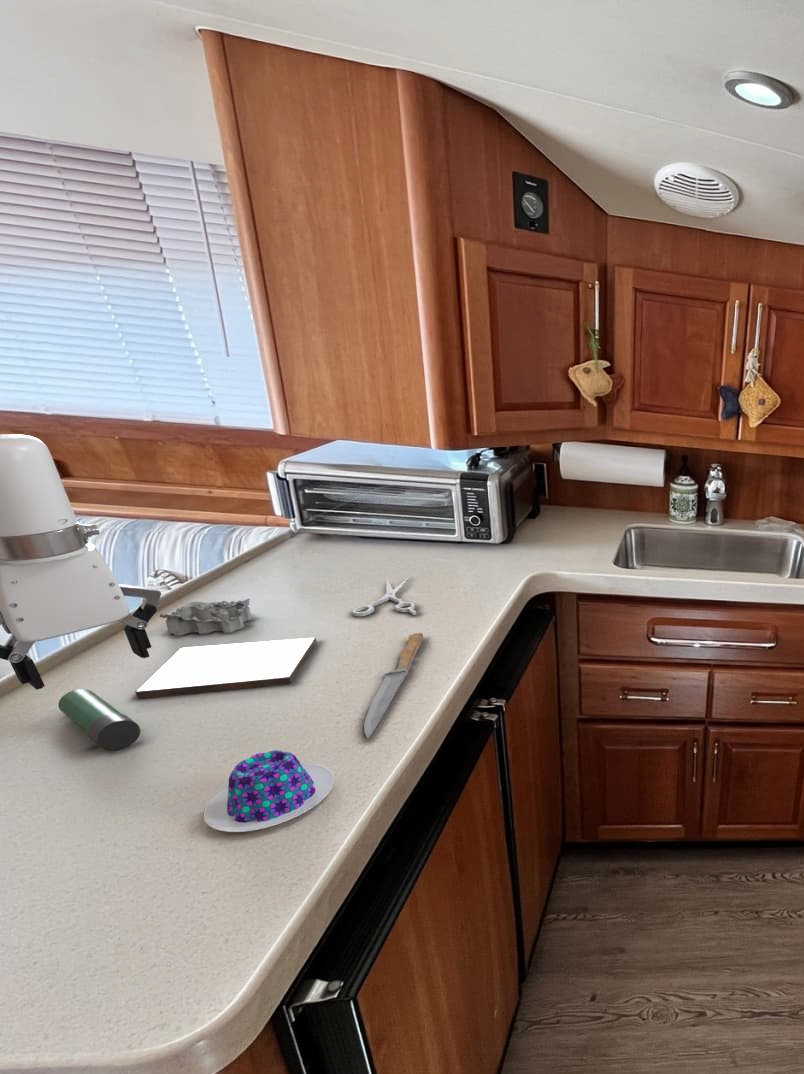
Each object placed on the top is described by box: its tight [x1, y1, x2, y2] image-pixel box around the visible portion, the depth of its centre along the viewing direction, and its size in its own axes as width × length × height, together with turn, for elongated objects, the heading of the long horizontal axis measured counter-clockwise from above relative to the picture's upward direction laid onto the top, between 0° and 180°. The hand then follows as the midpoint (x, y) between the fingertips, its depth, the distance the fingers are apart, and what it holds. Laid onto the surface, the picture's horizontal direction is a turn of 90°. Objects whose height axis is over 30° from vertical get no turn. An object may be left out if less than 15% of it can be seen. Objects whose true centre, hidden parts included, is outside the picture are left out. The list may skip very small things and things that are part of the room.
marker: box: [57, 688, 141, 751], centre depth 83 cm, size 15×4×4 cm, turn 61°
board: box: [135, 637, 318, 700], centre depth 99 cm, size 18×14×1 cm
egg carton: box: [159, 598, 253, 637], centre depth 111 cm, size 11×8×4 cm
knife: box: [363, 632, 424, 740], centre depth 99 cm, size 31×1×3 cm
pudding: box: [203, 749, 335, 833], centre depth 74 cm, size 12×12×5 cm
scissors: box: [352, 577, 417, 617], centre depth 128 cm, size 11×1×20 cm
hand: (91, 669), depth 81 cm, fingers open, 9 cm apart
